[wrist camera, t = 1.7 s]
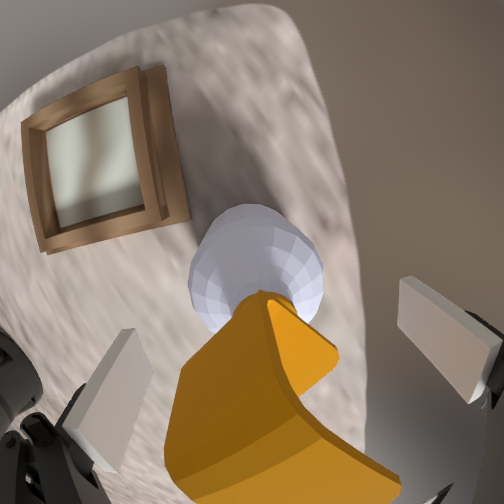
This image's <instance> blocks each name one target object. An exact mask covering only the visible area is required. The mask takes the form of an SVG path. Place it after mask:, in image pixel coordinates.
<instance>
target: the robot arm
mask: <svg viewBox="0 0 504 504" xmlns="http://www.w3.org/2000/svg"><path fill="white" fill-rule="evenodd" d="M397 326H398V327H399V328H400V329H401V330H402V331H403V332H404V333H405V335H406V336H407V337H408V338H409V339H410V340H411V341H412V342H413V343H414V344H415V345H416V346H417V347H418V348H419V349H420V350H421V352H422V353H423V354H424V355H425V356H426V357H427V358H428V359H429V360H430V361H431V362H432V363H433V365H434V366H435V367H436V368H437V369H438V370H439V371H440V372H441V374H442V375H443V376H444V377H445V378H446V379H447V380H448V381H449V383H450V384H451V385H452V386H453V387H454V388H455V389H456V391H457V392H458V393H459V394H460V395H461V396H462V398H463V399H464V400H465V401H466V402H467V403H468V404H469V403H471V402H472V401H474V400H475V399H477V398H478V397H480V396H481V395H482V392H483V390H484V388H485V386H486V385H487V386H488V387H489V388H490V390H489V392H488V394H487V396H486V398H485V401H484V402H483V404H482V408H481V409H483V408H484V407H485V405H486V403H487V420H486V433H485V442H484V449H483V456H482V463H481V468H480V473H479V478H478V482H477V487H476V491H475V495H474V498H473V502H472V504H504V335H503V334H502V333H501V332H500V331H498V330H497V329H495V328H494V327H493V326H491V325H489V323H487V322H486V321H483V319H482V318H480V317H479V316H478V315H476V314H474V313H472V312H469V311H463V310H462V309H460V308H459V307H457V306H456V305H455V304H453V303H452V302H450V301H449V300H447V299H446V298H445V297H443V296H442V295H440V294H439V293H437V292H436V291H434V290H432V289H431V288H430V287H428V286H427V285H425V284H424V283H422V282H421V281H419V280H418V279H416V278H415V277H413V276H409V277H405V278H402V279H400V291H399V308H398V321H397ZM153 372H154V371H153V369H152V367H151V365H150V362H149V360H148V358H147V356H146V353H145V351H144V349H143V346H142V344H141V342H140V339H139V337H138V334H137V332H136V329H135V328H132V329H122V330H121V332H120V333H119V335H118V336H117V338H116V339H115V341H114V342H113V344H112V345H111V347H110V348H109V350H108V351H107V353H106V354H105V356H104V357H103V359H102V360H101V362H100V363H99V365H98V367H97V368H96V370H95V371H94V373H93V374H92V376H91V378H90V379H89V381H88V382H87V383H84V384H83V385H82V386H81V387H80V388H79V389H77V390H76V392H75V393H74V395H73V397H72V398H71V399H72V400H70V401H69V403H68V407H67V406H66V408H65V410H64V411H63V413H62V415H61V416H60V418H59V420H58V421H57V423H56V425H55V427H54V426H53V425H52V424H51V422H50V421H49V420H48V419H47V417H46V416H45V415H44V414H43V413H40V412H35V413H31V414H30V415H28V416H26V417H25V418H24V419H23V421H22V423H21V424H20V430H21V431H22V432H23V434H24V435H25V436H26V437H27V438H28V439H24V438H23V437H22V436H21V435H20V433H19V432H17V431H14V430H12V431H8V432H7V433H5V432H6V430H7V429H8V427H9V426H10V424H11V423H12V421H13V420H14V418H15V417H16V416H18V415H20V414H21V413H23V412H25V411H27V410H28V409H30V408H32V407H33V406H35V405H36V404H37V403H38V401H39V400H40V399H41V397H42V395H43V388H42V384H41V381H40V379H39V376H38V374H37V372H36V371H35V369H34V367H33V366H32V364H31V363H30V361H29V360H28V358H27V357H26V356H25V355H24V353H23V352H22V351H21V350H20V349H19V348H18V347H17V345H16V344H15V343H14V342H12V341H11V340H10V339H9V338H8V337H6V336H5V335H4V334H2V333H0V504H111V502H110V500H109V498H108V496H107V495H106V493H105V491H104V489H103V487H102V485H101V483H100V481H99V478H98V476H97V474H96V473H95V471H94V470H93V469H92V467H93V464H94V463H95V464H96V465H97V466H98V467H99V468H100V469H101V470H102V471H107V472H112V473H119V470H120V467H121V463H122V460H123V457H124V454H125V451H126V448H127V445H128V442H129V439H130V436H131V433H132V430H133V427H134V424H135V421H136V418H137V416H138V413H139V410H140V407H141V404H142V402H143V399H144V396H145V393H146V391H147V388H148V385H149V383H150V380H151V377H152V375H153ZM26 475H27V476H28V477H29V478H31V483H28V482H27V481H26Z"/></svg>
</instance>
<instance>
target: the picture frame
mask: <svg viewBox="0 0 504 504" xmlns="http://www.w3.org/2000/svg"><path fill="white" fill-rule="evenodd" d="M21 137H22V153H23V164H24V173H25V181H26V188H27V194H28V200H29V206H30V211H31V216H32V221H33V225H34V229H35V234H36V238H37V242H38V245H39V249H40V253H42V252H45V251H46V253H47V255H50V254H54V253H58V252H61V251H65V250H69V249H72V248H76V247H80V246H84V245H88V244H91V243H95V242H99V241H103V240H107V239H111V238H115V237H120V236H124V235H128V234H132V233H136V232H141V231H145V230H149V229H154V228H158V227H163V226H167V225H172V224H177V223H181V222H186V221H190V220H191V215H190V210H189V205H188V200H187V195H186V190H185V185H184V180H183V175H182V169H181V164H180V158H179V153H178V147H177V141H176V135H175V129H174V123H173V116H172V110H171V103H170V96H169V88H168V81H167V73H166V68H165V66H164V65H161V66H158V67H155V68H151V69H148V70H145V71H142V70H141V69H140V68H139V67H138V66H136V67H133V68H130V69H127V70H125V71H122V72H119V73H117V74H114V75H111V76H109V77H106V78H104V79H102V80H99V81H97V82H95V83H92V84H90V85H88V86H86V87H83V88H81V89H79V90H77V91H75V92H73V93H71V94H69V95H67V96H65V97H63V98H61V99H59V100H57V101H56V102H54V103H52V104H50V105H48V106H47V107H45V108H43V109H41V110H40V111H38V112H36V113H35V114H33V115H31V116H30V117H28V118H27V119H25V120H24V121H22V122H21Z"/></svg>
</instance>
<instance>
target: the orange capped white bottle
mask: <svg viewBox="0 0 504 504" xmlns="http://www.w3.org/2000/svg"><path fill="white" fill-rule="evenodd" d="M188 288H189V292H190V297H191V301H192V305H193V307H194V309H195V311H196V312H197V314H198V315H199V317H200V318H201V320H202V321H203V323H204V324H205V325H206V327H207V328H208V329H209V330H210V331H212V332H213V333H214V334H215V335H214V336H213V337H212V338H211V339H210V340H209V341H208V342H207V343H206V344H205V345H204V346H203V347H202V348H201V349H200V350H199V351H198V352H196V353H195V354H194V355H193V356H192V357H191V358H190V359H189V360H188V361H187V362H186V364H185V365H184V366H183V367H182V369H181V373H180V377H179V381H178V386H177V390H176V394H175V399H174V403H173V408H172V412H171V417H170V421H169V426H168V431H167V435H166V440H165V445H164V461H165V467H166V469H167V471H168V473H169V475H170V477H171V479H172V481H173V482H174V484H175V485H176V486H177V487H178V488H179V489H180V490H181V491H182V492H184V493H185V494H186V495H187V496H188V497H189V498H190V499H191V500H192V501H194V502H195V503H197V504H389V503H391V502H392V501H393V500H394V499H395V498H396V497H397V496H398V495H399V494H400V493H401V482H400V479H399V476H398V475H396V474H395V473H393V472H391V471H390V470H388V469H386V468H385V467H383V466H381V465H380V464H378V463H377V462H375V461H374V460H372V459H371V458H369V457H367V456H366V455H364V454H363V453H361V452H360V451H358V450H357V449H355V448H354V447H353V446H351V445H350V444H348V443H347V442H345V441H344V440H342V439H341V438H340V437H338V436H337V435H335V434H334V433H333V432H331V431H330V430H328V429H327V428H326V427H324V426H323V425H322V424H321V423H320V422H319V421H318V420H317V419H316V418H315V417H314V416H313V415H312V414H311V413H310V412H309V411H308V410H307V409H306V408H305V407H304V406H303V404H302V403H301V401H300V399H299V398H298V397H299V396H300V395H302V394H303V393H304V392H305V391H307V390H308V389H309V388H311V387H312V386H313V385H314V384H316V383H317V382H318V381H319V380H320V379H322V378H323V377H324V376H325V375H326V374H328V373H329V372H330V371H331V370H332V369H333V368H335V367H336V365H337V363H338V360H339V354H338V350H337V348H336V346H335V345H334V344H332V343H331V342H330V341H329V340H327V339H326V338H325V337H324V336H322V335H321V334H320V333H319V332H317V331H316V330H315V329H314V328H312V327H311V326H310V325H309V324H308V323H309V322H310V321H311V319H312V318H313V317H314V315H315V314H316V313H317V310H318V307H319V304H320V301H321V298H322V295H323V292H324V271H323V263H322V261H321V259H320V256H319V254H318V252H317V250H316V248H315V245H314V244H313V243H312V242H311V241H310V240H309V239H308V238H307V237H306V236H305V235H304V234H303V233H302V232H301V231H300V230H299V229H298V228H297V227H295V226H294V225H293V224H292V223H290V222H289V221H288V220H287V219H286V218H284V217H283V216H282V215H281V214H279V213H278V212H277V211H275V210H273V209H271V208H268V207H266V206H263V205H261V204H241V205H238V206H235V207H232V208H229V209H227V210H225V211H224V212H223V213H222V214H220V215H219V216H218V217H217V218H215V219H214V220H213V222H212V224H211V225H210V227H209V229H208V230H207V232H206V234H205V236H204V238H203V240H202V242H201V244H200V246H199V248H198V249H197V251H196V253H195V255H194V257H193V259H192V261H191V266H190V273H189V280H188Z"/></svg>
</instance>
